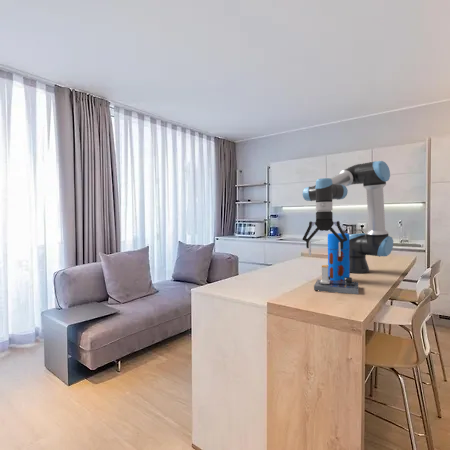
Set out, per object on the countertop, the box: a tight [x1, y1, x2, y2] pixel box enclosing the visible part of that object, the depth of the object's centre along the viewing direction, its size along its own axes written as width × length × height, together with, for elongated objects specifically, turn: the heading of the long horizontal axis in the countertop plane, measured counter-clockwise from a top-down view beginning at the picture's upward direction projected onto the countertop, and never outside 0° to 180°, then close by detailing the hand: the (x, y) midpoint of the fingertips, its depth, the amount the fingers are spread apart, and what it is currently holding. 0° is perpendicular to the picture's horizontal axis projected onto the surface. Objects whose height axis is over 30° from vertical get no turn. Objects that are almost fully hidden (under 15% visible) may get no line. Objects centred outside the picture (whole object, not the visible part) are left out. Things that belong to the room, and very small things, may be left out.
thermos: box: [327, 232, 351, 281], centre depth 162 cm, size 11×11×25 cm
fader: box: [320, 264, 330, 284], centre depth 145 cm, size 5×4×8 cm
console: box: [313, 276, 359, 295], centre depth 144 cm, size 14×19×4 cm
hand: (324, 255), depth 145 cm, fingers open, 13 cm apart
